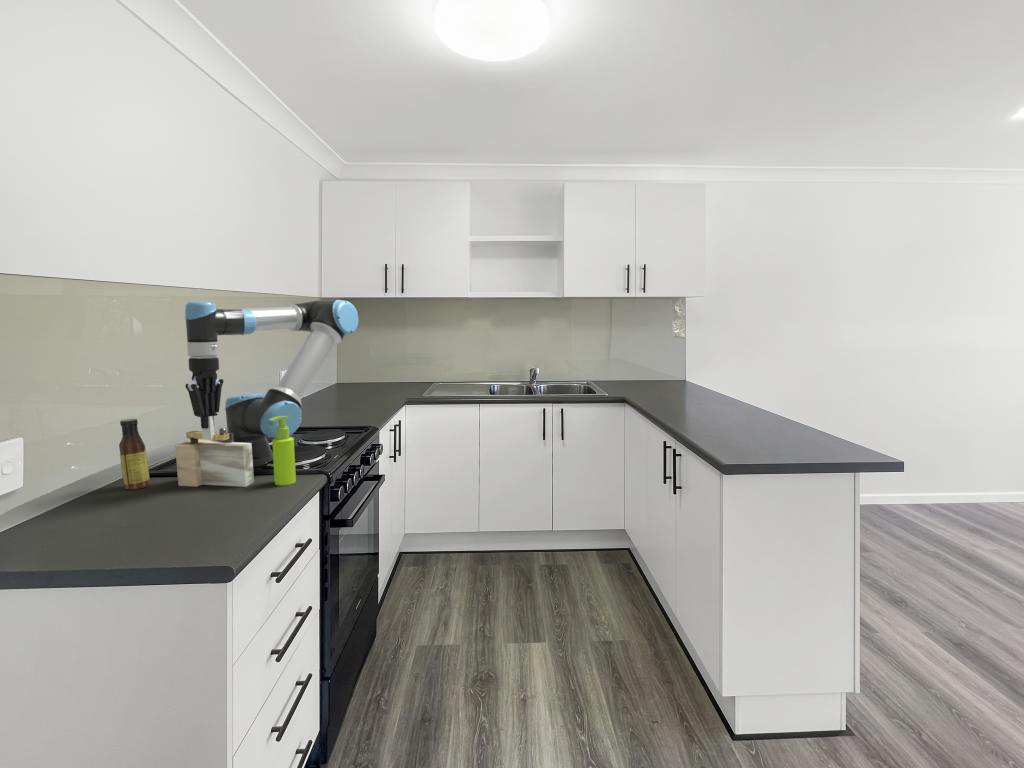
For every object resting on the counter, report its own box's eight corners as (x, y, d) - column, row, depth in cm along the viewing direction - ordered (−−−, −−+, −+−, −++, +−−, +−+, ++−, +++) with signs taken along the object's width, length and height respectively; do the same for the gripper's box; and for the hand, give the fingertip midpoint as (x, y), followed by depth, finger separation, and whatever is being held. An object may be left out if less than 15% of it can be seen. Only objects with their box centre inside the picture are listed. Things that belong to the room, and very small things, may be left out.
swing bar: (185, 438, 164) (184, 427, 163) (194, 435, 167) (193, 425, 166) (222, 440, 160) (221, 429, 160) (230, 438, 163) (229, 427, 163)
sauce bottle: (155, 484, 164) (149, 417, 162) (139, 491, 158) (132, 421, 156) (134, 483, 165) (128, 417, 163) (117, 490, 159) (111, 421, 156)
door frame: (197, 477, 171) (194, 430, 169) (258, 480, 168) (255, 432, 166) (178, 485, 163) (174, 436, 161) (241, 488, 160) (238, 438, 158)
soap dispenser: (267, 484, 164) (263, 417, 161) (286, 478, 170) (283, 413, 167) (281, 487, 161) (277, 419, 158) (300, 481, 167) (296, 415, 165)
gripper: (199, 359, 151) (204, 444, 154) (230, 355, 164) (234, 434, 167) (174, 358, 152) (180, 443, 155) (207, 355, 165) (212, 433, 168)
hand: (208, 438), depth 161 cm, fingers closed
